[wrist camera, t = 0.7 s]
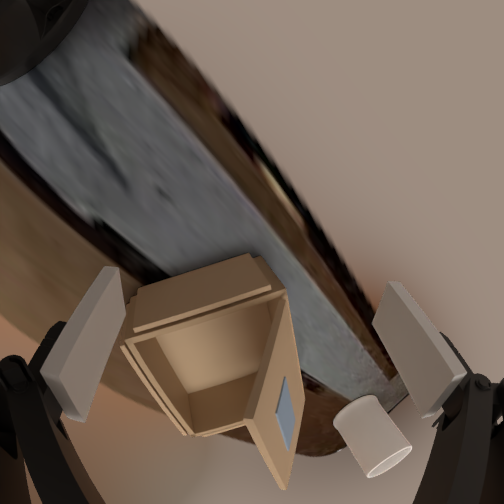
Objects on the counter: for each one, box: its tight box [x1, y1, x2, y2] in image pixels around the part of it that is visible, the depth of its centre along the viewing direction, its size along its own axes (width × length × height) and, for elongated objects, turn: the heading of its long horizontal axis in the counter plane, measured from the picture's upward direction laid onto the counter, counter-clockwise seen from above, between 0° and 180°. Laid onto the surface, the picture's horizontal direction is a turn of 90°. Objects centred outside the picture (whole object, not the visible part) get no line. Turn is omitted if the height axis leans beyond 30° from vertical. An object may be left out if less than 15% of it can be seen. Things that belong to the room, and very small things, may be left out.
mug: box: [333, 395, 412, 478], centre depth 37 cm, size 12×8×12 cm
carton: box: [120, 253, 305, 437], centre depth 25 cm, size 15×13×6 cm
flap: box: [243, 300, 304, 490], centre depth 19 cm, size 13×1×10 cm, turn 12°
